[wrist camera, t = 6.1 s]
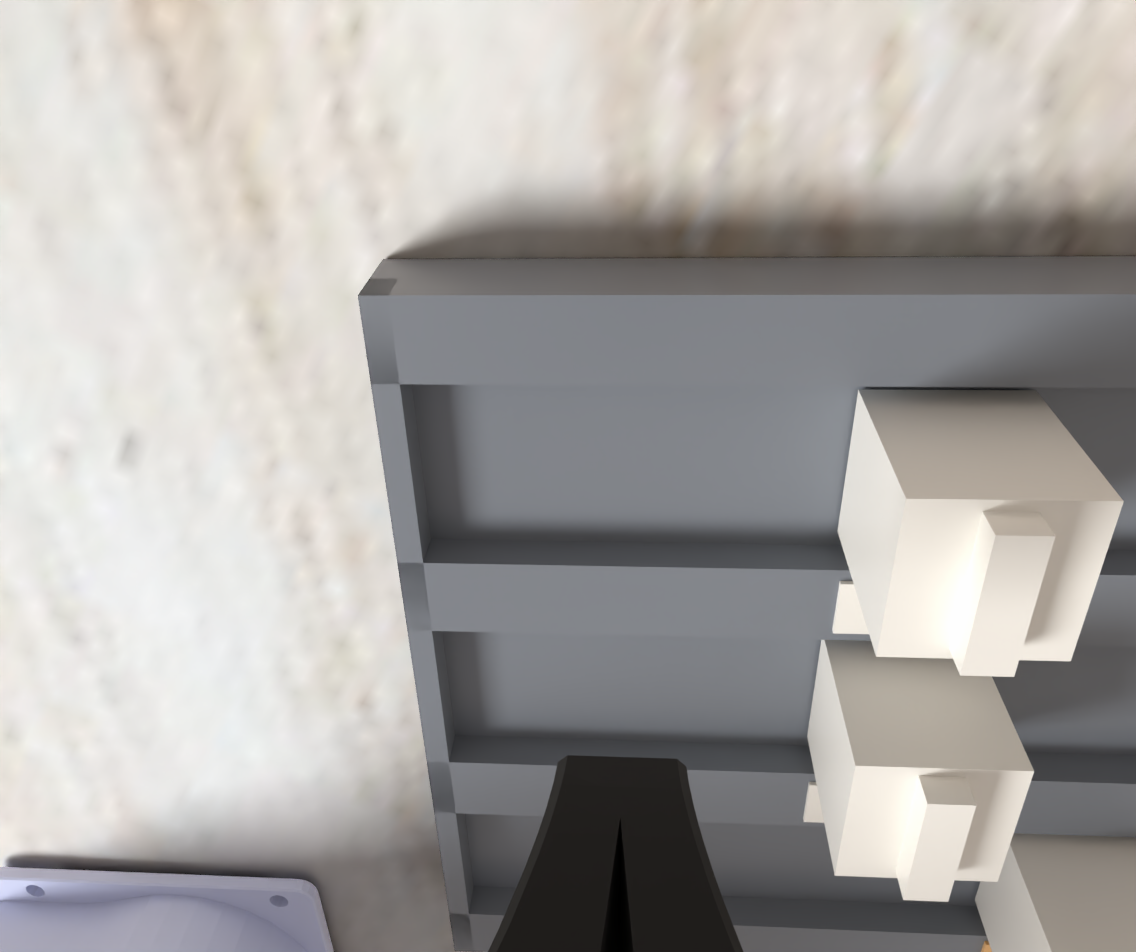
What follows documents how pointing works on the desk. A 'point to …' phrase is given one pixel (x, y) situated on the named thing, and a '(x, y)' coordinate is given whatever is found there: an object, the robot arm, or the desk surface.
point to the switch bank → (714, 545)
